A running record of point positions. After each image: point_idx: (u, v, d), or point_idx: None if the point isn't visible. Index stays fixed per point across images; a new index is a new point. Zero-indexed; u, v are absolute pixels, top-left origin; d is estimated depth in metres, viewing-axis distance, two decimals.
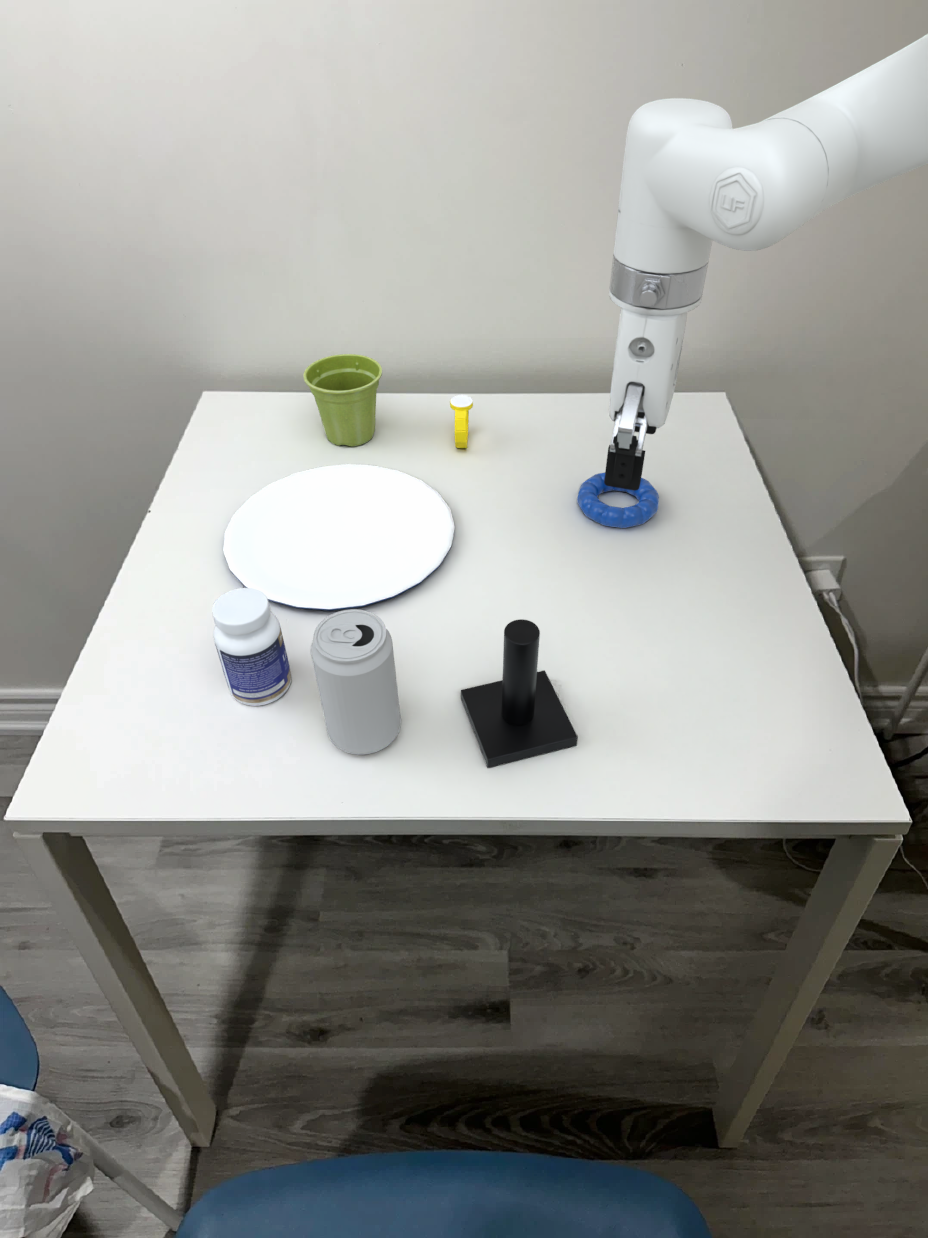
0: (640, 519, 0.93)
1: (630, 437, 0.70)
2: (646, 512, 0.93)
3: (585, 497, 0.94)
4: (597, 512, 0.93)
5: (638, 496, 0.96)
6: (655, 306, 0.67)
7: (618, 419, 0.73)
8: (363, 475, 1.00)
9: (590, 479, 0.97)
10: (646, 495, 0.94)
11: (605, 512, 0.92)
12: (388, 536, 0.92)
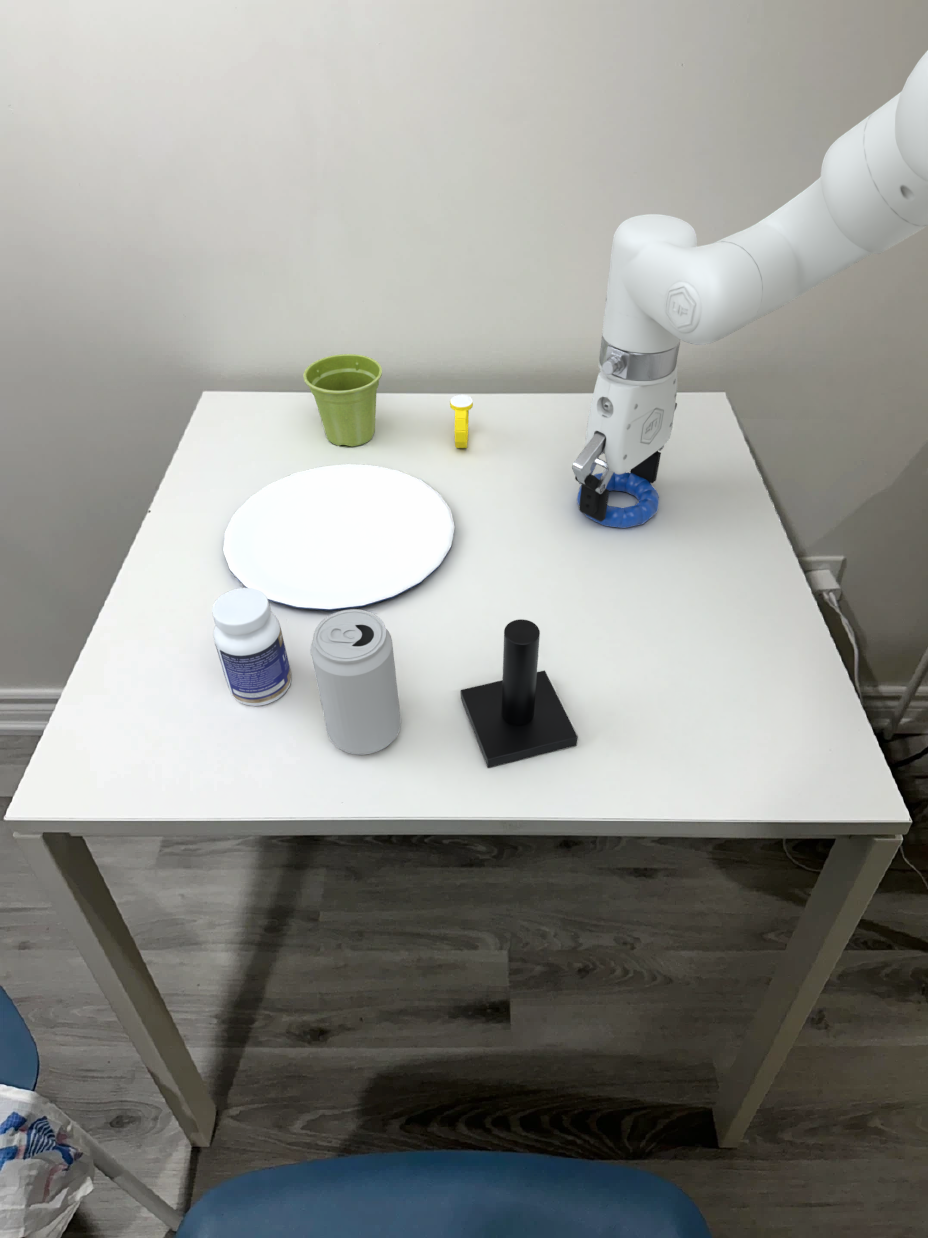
0: (640, 519, 0.93)
1: (581, 474, 0.86)
2: (645, 512, 0.93)
3: None
4: None
5: (638, 496, 0.96)
6: (619, 375, 0.82)
7: None
8: (363, 475, 1.00)
9: None
10: (646, 495, 0.94)
11: None
12: (388, 536, 0.92)
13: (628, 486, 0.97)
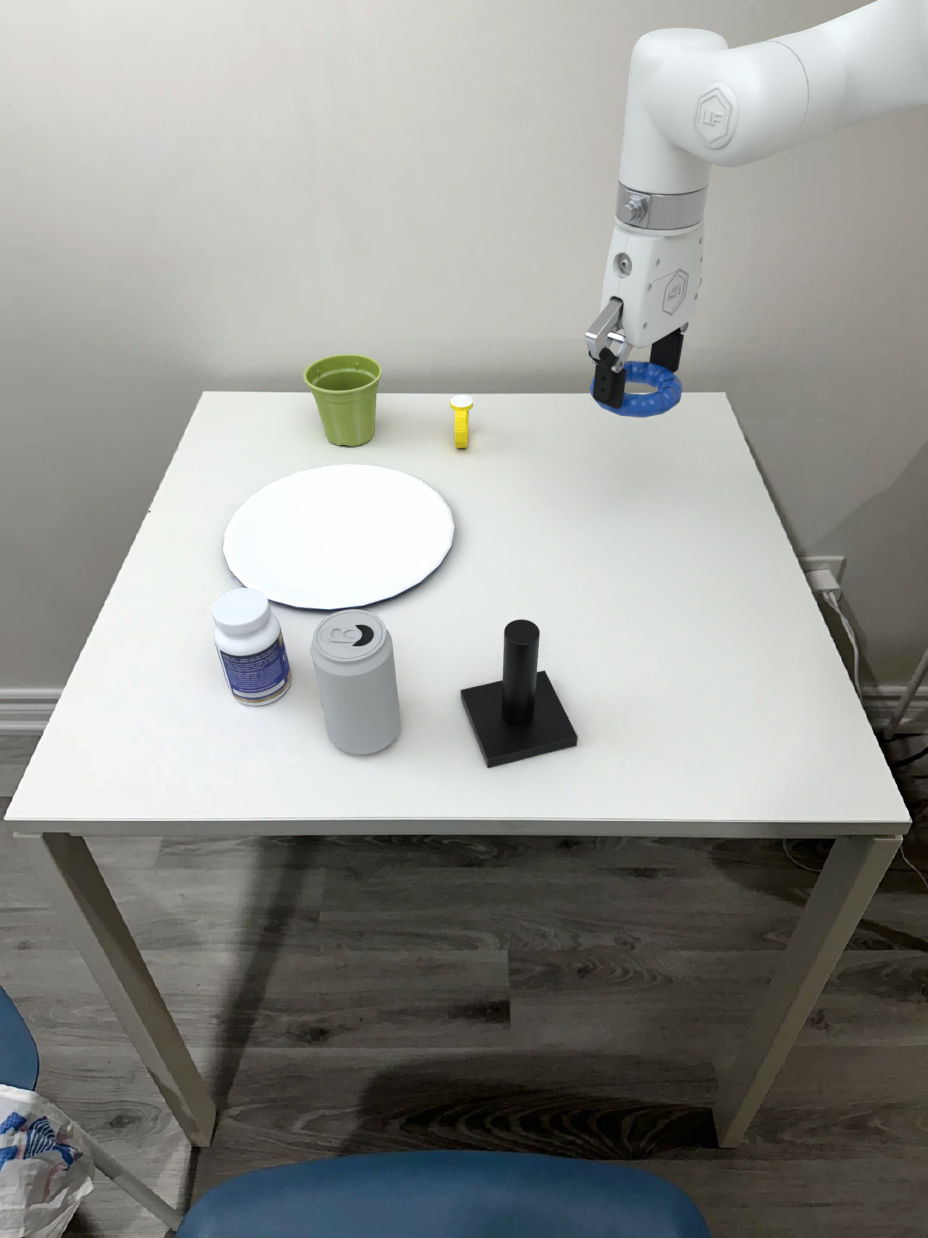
0: (661, 407, 0.82)
1: (595, 346, 0.76)
2: (667, 399, 0.82)
3: None
4: None
5: (658, 385, 0.86)
6: (638, 224, 0.72)
7: None
8: (363, 475, 1.00)
9: None
10: (668, 382, 0.84)
11: None
12: (388, 536, 0.92)
13: (647, 376, 0.87)
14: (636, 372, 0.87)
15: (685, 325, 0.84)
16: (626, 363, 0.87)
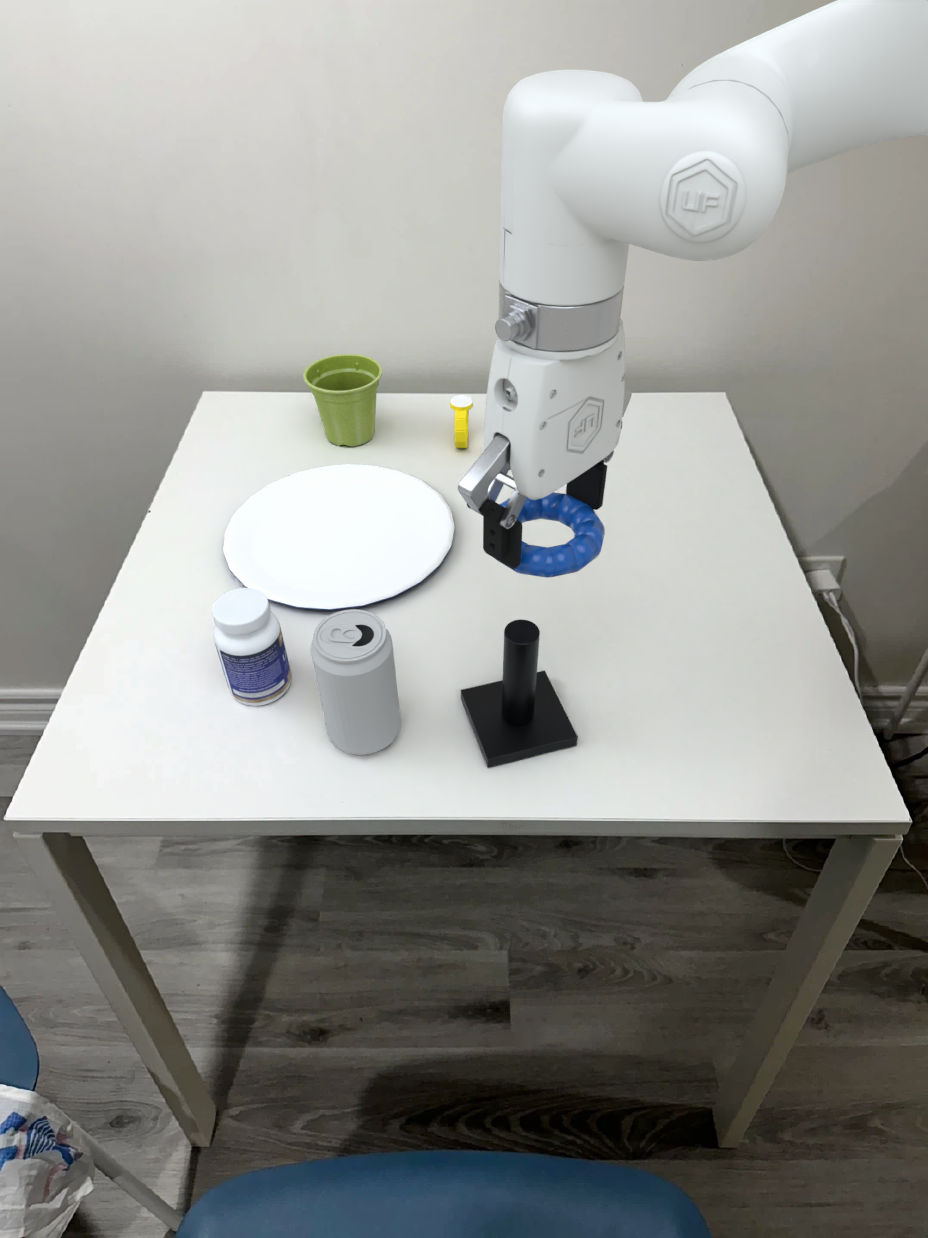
0: (573, 565, 0.62)
1: (472, 501, 0.55)
2: (581, 555, 0.62)
3: None
4: None
5: (574, 529, 0.65)
6: (524, 343, 0.51)
7: None
8: (363, 475, 1.00)
9: (504, 503, 0.66)
10: (584, 528, 0.63)
11: None
12: (388, 536, 0.92)
13: (561, 514, 0.66)
14: (547, 508, 0.66)
15: None
16: None
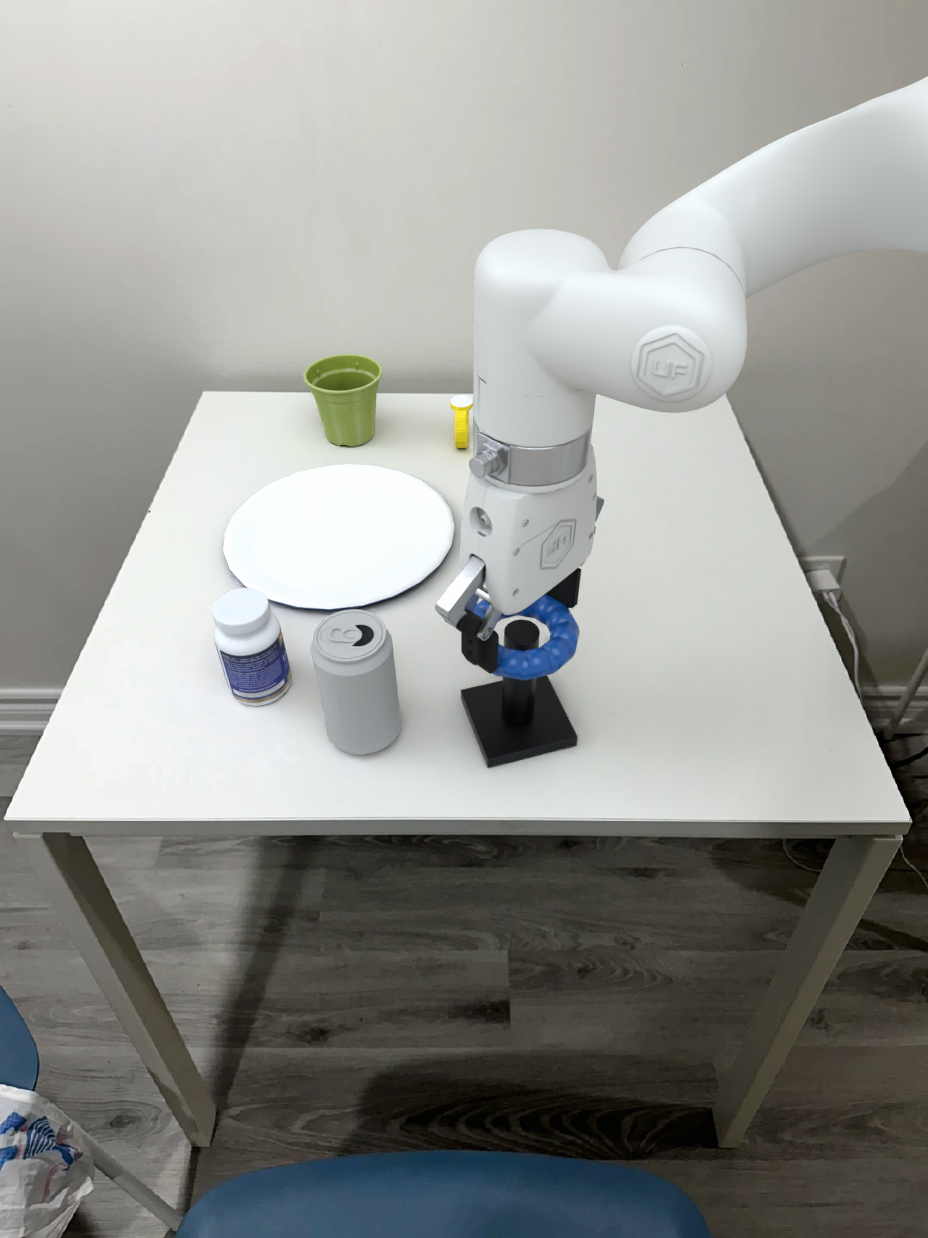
0: (548, 669, 0.64)
1: (449, 620, 0.57)
2: (556, 659, 0.64)
3: None
4: None
5: (550, 629, 0.67)
6: (497, 477, 0.53)
7: None
8: (363, 475, 1.00)
9: (482, 603, 0.68)
10: (559, 630, 0.65)
11: None
12: (388, 536, 0.92)
13: (537, 612, 0.68)
14: None
15: None
16: None
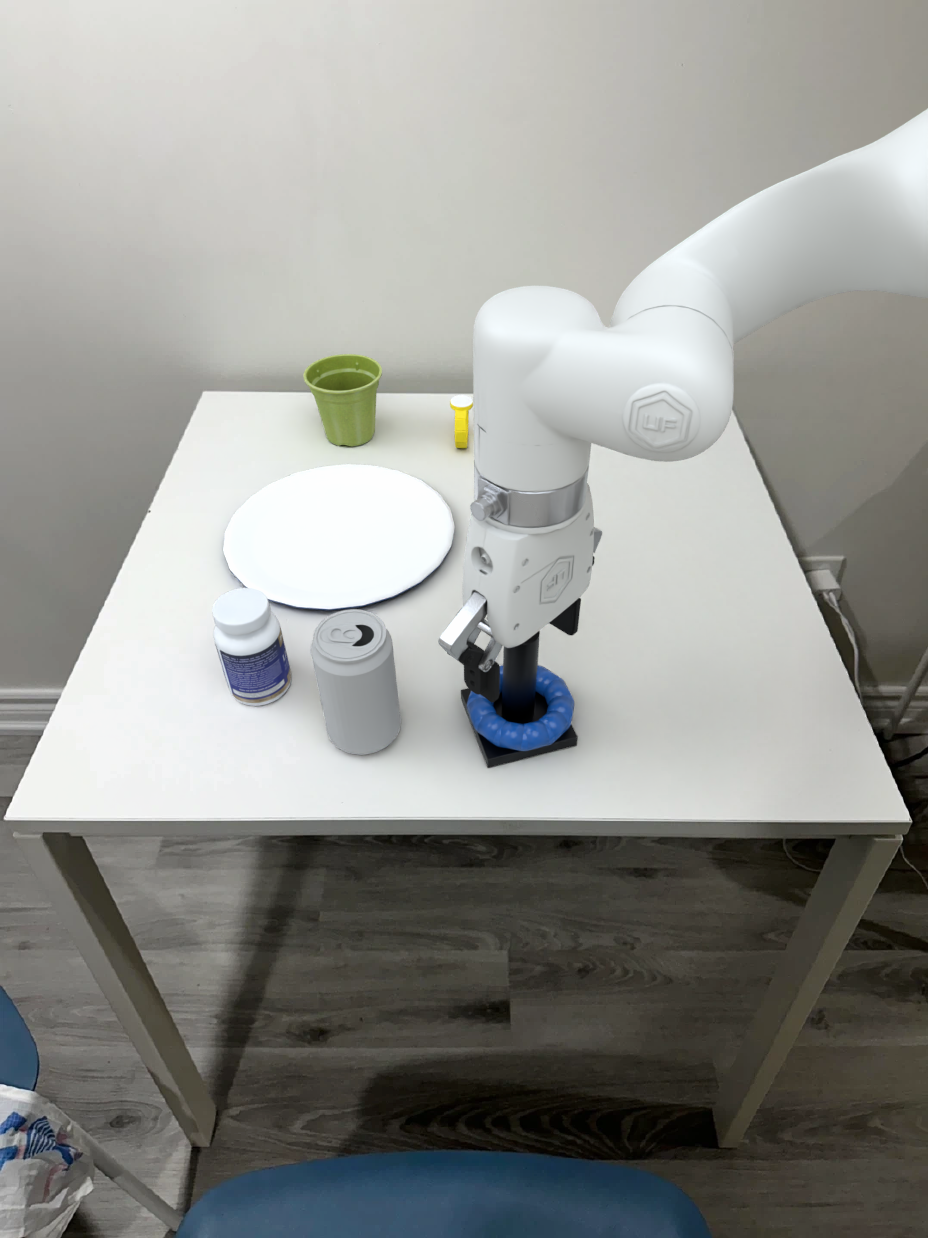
0: (546, 741, 0.70)
1: (451, 653, 0.59)
2: (553, 732, 0.70)
3: (475, 707, 0.71)
4: (489, 731, 0.70)
5: (547, 701, 0.73)
6: (498, 519, 0.55)
7: None
8: (363, 475, 1.00)
9: None
10: (556, 704, 0.71)
11: (499, 732, 0.70)
12: (388, 536, 0.92)
13: None
14: None
15: None
16: None
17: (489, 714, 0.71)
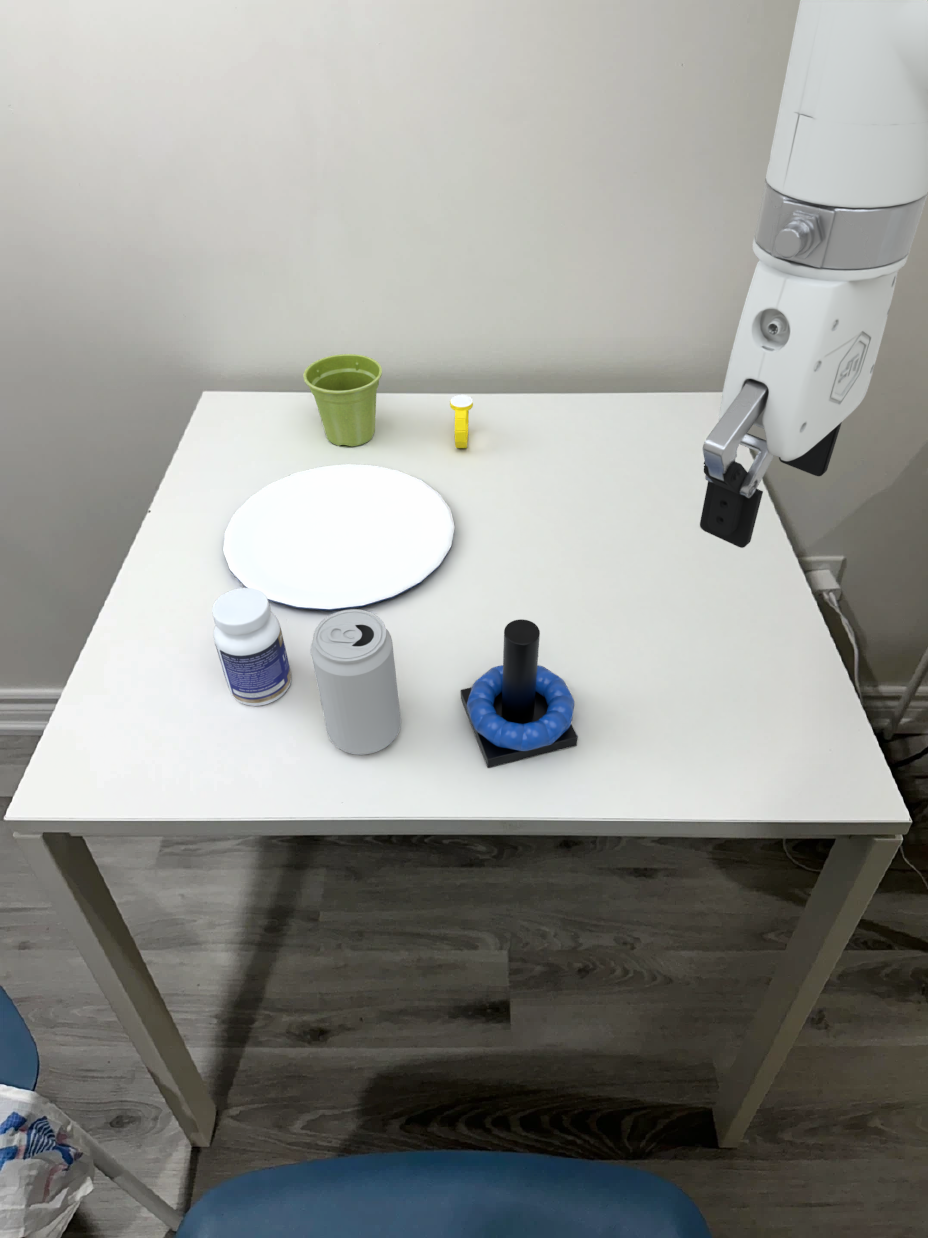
0: (546, 741, 0.70)
1: (721, 462, 0.45)
2: (553, 732, 0.70)
3: (475, 707, 0.71)
4: (489, 731, 0.70)
5: (547, 701, 0.73)
6: (805, 261, 0.41)
7: None
8: (363, 475, 1.00)
9: (485, 677, 0.74)
10: (556, 704, 0.71)
11: (499, 732, 0.70)
12: (388, 536, 0.92)
13: None
14: None
15: None
16: None
17: (489, 714, 0.71)
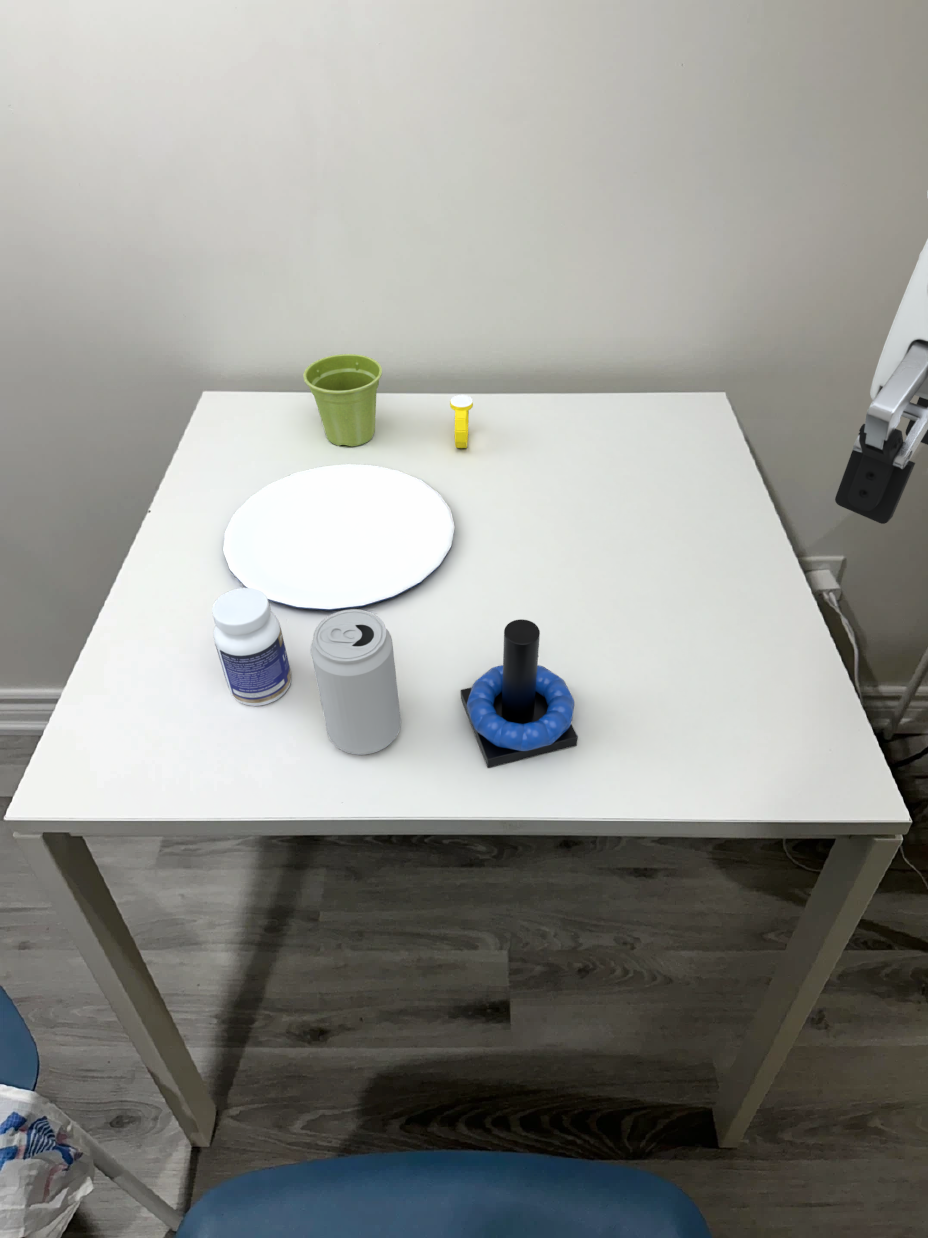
0: (546, 741, 0.70)
1: (886, 427, 0.42)
2: (553, 732, 0.70)
3: (475, 707, 0.71)
4: (489, 731, 0.70)
5: (547, 701, 0.73)
6: None
7: None
8: (363, 475, 1.00)
9: (485, 677, 0.74)
10: (556, 704, 0.71)
11: (499, 732, 0.70)
12: (388, 536, 0.92)
13: None
14: None
15: None
16: None
17: (489, 714, 0.71)
